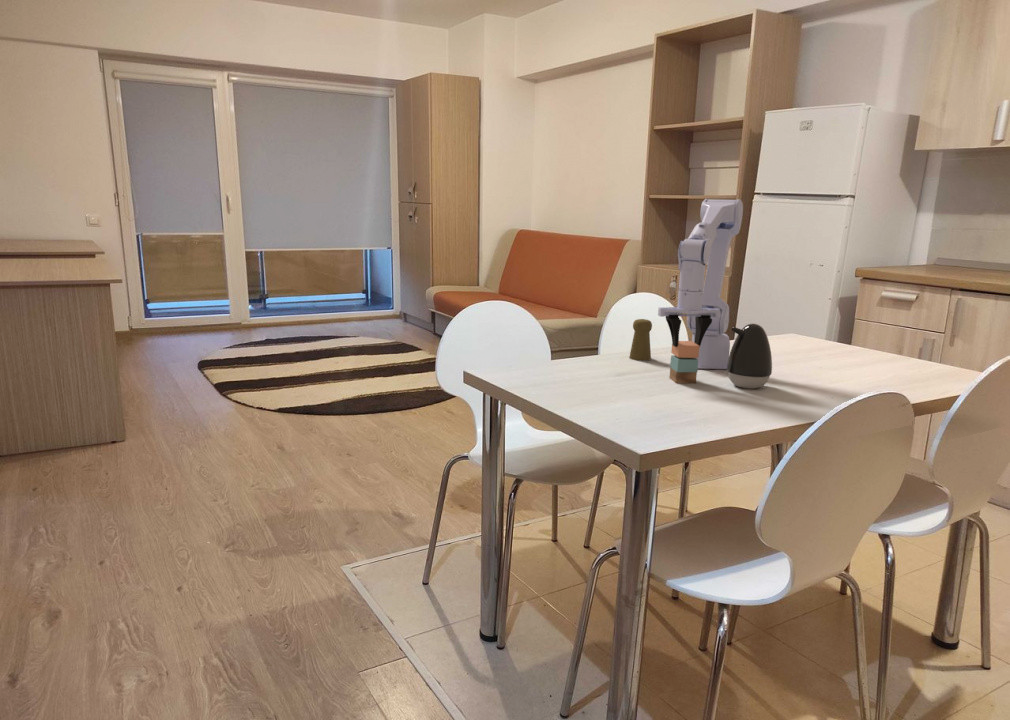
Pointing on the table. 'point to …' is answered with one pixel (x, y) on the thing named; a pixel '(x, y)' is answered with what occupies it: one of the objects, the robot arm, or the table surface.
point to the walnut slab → (683, 376)
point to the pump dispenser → (750, 358)
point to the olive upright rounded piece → (641, 340)
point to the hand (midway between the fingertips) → (686, 346)
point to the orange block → (686, 349)
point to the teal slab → (684, 364)
